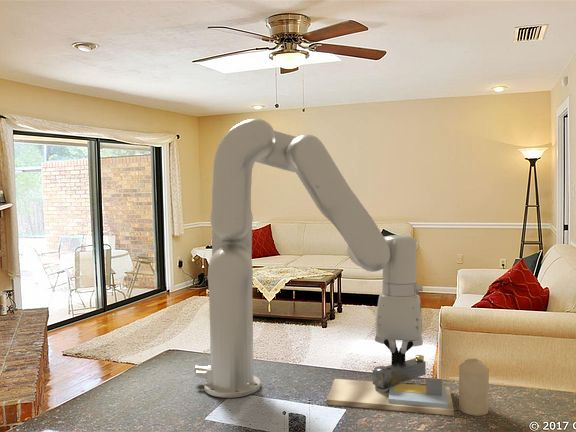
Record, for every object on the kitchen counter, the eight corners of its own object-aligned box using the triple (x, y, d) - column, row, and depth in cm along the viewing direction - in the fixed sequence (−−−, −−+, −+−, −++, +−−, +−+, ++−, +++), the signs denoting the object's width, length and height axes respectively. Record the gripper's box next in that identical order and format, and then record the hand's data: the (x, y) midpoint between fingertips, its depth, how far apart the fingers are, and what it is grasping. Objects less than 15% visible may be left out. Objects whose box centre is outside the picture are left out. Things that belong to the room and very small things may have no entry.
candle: (490, 417, 99) (491, 365, 98) (460, 414, 100) (461, 364, 99) (485, 405, 104) (486, 356, 103) (457, 403, 105) (457, 355, 105)
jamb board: (326, 404, 105) (326, 399, 105) (334, 383, 117) (334, 378, 117) (453, 415, 99) (453, 410, 99) (449, 392, 111) (449, 387, 111)
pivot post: (374, 396, 109) (374, 388, 109) (375, 391, 112) (375, 382, 112) (390, 398, 108) (390, 389, 108) (390, 392, 111) (390, 383, 111)
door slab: (388, 402, 103) (388, 383, 103) (390, 386, 112) (390, 368, 112) (448, 407, 100) (448, 387, 100) (445, 390, 109) (445, 372, 109)
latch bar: (382, 389, 107) (382, 370, 107) (370, 383, 110) (370, 366, 110) (428, 374, 116) (428, 357, 115) (416, 370, 119) (416, 353, 118)
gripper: (433, 288, 118) (432, 366, 119) (368, 285, 123) (368, 360, 123) (432, 294, 111) (431, 377, 112) (363, 290, 115) (363, 370, 116)
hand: (398, 368), depth 118 cm, fingers closed
